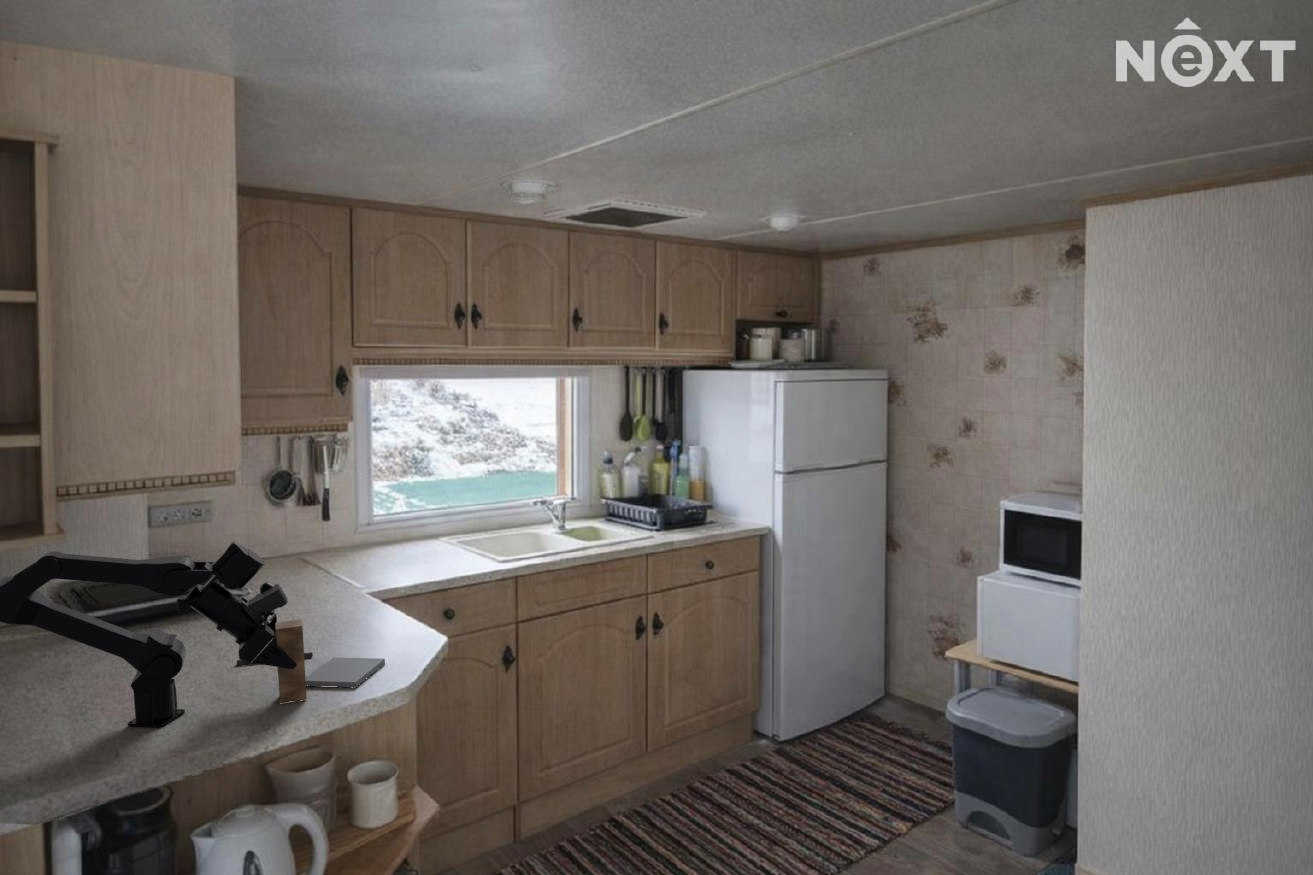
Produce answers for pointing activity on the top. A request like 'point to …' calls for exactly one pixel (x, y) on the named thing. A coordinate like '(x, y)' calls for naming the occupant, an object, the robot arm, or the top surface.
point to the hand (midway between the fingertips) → (294, 659)
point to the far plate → (344, 672)
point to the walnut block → (292, 644)
